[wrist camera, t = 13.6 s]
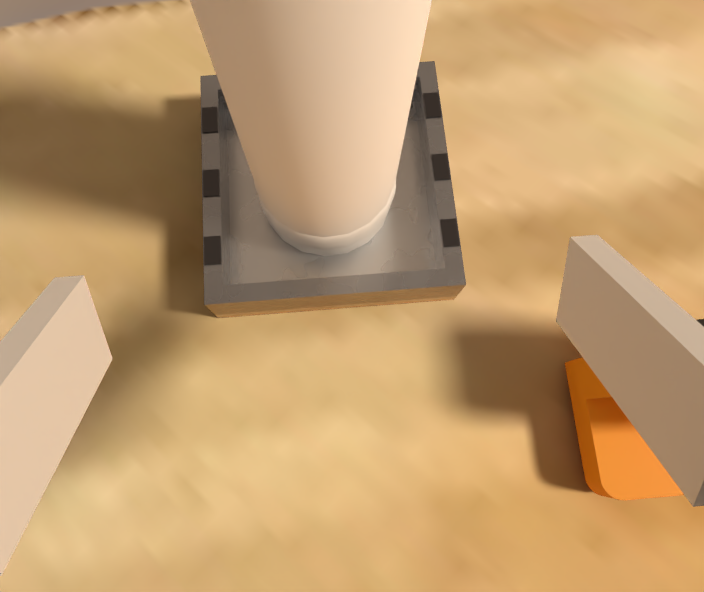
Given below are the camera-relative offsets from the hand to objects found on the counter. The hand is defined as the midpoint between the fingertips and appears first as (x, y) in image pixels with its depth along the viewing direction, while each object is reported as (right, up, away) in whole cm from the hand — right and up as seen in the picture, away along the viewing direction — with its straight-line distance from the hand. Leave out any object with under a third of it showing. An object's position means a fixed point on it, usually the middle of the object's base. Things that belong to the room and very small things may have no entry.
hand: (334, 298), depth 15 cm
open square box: (-1, +6, +19) cm, 20 cm away
